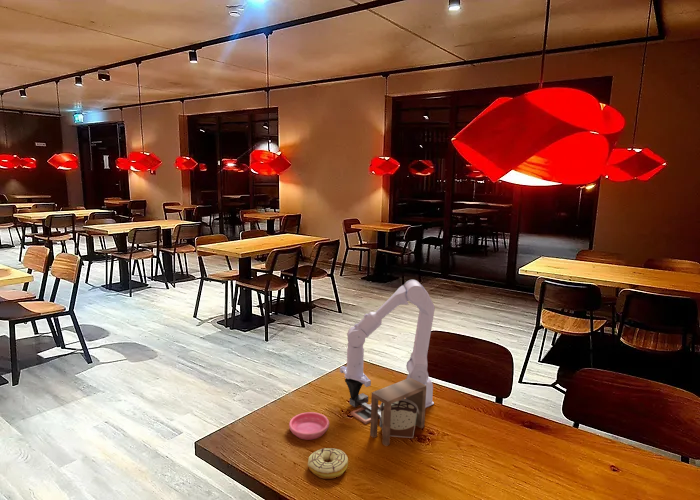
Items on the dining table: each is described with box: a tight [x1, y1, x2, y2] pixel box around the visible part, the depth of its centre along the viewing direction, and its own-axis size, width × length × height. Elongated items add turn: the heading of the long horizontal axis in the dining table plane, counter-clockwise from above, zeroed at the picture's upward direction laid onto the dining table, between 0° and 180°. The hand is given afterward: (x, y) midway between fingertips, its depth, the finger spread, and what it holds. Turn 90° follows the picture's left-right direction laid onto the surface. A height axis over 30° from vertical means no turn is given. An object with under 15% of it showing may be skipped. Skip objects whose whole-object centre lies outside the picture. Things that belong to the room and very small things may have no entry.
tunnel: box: [369, 378, 427, 447], centre depth 138 cm, size 17×7×14 cm, turn 129°
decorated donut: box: [307, 447, 349, 480], centre depth 120 cm, size 10×11×4 cm
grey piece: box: [348, 392, 382, 429], centre depth 147 cm, size 8×17×4 cm, turn 39°
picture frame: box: [350, 403, 381, 425], centre depth 149 cm, size 11×8×1 cm
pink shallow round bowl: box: [288, 411, 330, 441], centre depth 138 cm, size 12×12×3 cm
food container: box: [379, 398, 419, 439], centre depth 138 cm, size 12×6×10 cm, turn 84°
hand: (354, 398), depth 155 cm, fingers closed
